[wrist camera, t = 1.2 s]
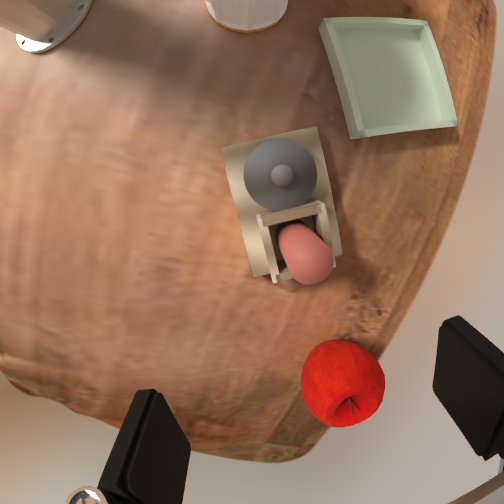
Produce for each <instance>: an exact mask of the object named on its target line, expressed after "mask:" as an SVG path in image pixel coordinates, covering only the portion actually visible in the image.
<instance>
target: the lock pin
mask: <svg viewBox="0 0 504 504" xmlns="http://www.w3.org/2000/svg"><path fill="white" fill-rule="evenodd" d="M275 236H276V241H277V244H278V246H279V248H280V251H281V253H282V255H283V258H284V260H285V262H286V264H287V267H288V269H289V271H290V274H291V275H292V277H293V278H294V279H295V280H296V281H298V282H299V283H302V284H305V285H313V284H317V283H320V282H321V281H323V280H324V279H326V278H327V277H328V275H329V274H330V273H331V271H332V268H333V264H334V257H333V254H332V251H331V250H330V248H329V247H328V246H327V245H326V244H325V243H324V242H323V241H322V240H321V239H320V238H319V237H318V236H317V235H316V234H315V233H314V232H313V231H312V230H311V229H310V228H309V227H308V226H307V225H306V224H305V223H304V222H303V221H301V220H299V219H294V220H290V221H286V222H282V223H281V224H280V225H279V226H278V228H277V230H276V235H275Z"/></svg>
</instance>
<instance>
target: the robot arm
mask: <svg viewBox="0 0 504 504" xmlns="http://www.w3.org/2000/svg"><path fill="white" fill-rule="evenodd" d="M91 4H92V0H0V27H2V28H4V29H6V30H9V31H11V32H13V33H16V40H17V42H18V45H19V46H20V47H21V48H22V49H23V50H25V51H28V52H30V53H40V52H44V51H47V50H49V49H51V48H53V47H55V46H57V45H58V44H60V43H61V42H62V41H64V40H65V39H66V38H67V37H68V36H70V35H71V34H72V33H73V32H74V30H75V29H76V28H77V27H78V26H79V25H80V23H81V22H82V21H83V19H84V18H85V16H86V14H87V13H88V11H89V8H90V6H91ZM433 391H434V393H435V395H436V396H437V397H438V399H439V400H440V402H441V403H442V405H443V406H444V407H445V409H446V410H447V412H448V413H449V415H450V416H451V417H452V419H453V420H454V422H455V423H456V425H457V426H458V427H459V429H460V430H461V432H462V433H463V435H464V436H465V438H466V439H467V441H468V442H469V444H470V445H471V447H472V448H473V450H474V451H475V453H476V454H477V455H478V456H482V457H483V458H484V460H485V461H486V460H488V459H490V458H491V457H493V456H494V455H496V454H497V453H498V454H499V456H500V457H501V460H500V466H499V471H498V475H497V476H495V477H494V478H492V479H491V480H489V481H487V482H486V483H484V484H482V485H481V486H479V487H477V488H476V489H474V490H472V491H470V492H469V493H467V494H465V495H463V496H461V497H459V498H458V499H456V500H454V501H452V502H450V503H448V504H504V353H503V352H502V351H501V350H500V349H499V348H497V347H496V346H495V345H494V344H493V343H492V342H490V341H489V340H488V339H487V338H486V337H485V336H483V335H482V334H481V333H480V332H479V331H478V330H476V329H475V328H474V327H473V326H472V325H470V324H469V323H468V322H467V321H465V320H464V319H463V318H462V317H461V316H455V317H452V318H450V319H447V320H445V321H444V322H443V324H442V326H441V327H440V328H439V335H438V346H437V355H436V364H435V373H434V379H433ZM190 452H191V447H190V443H189V441H188V440H187V438H186V436H185V435H184V433H183V431H182V429H181V428H180V426H179V424H178V422H177V421H176V419H175V417H174V415H173V413H172V412H171V410H170V408H169V406H168V404H167V402H166V400H165V399H164V397H163V395H162V394H161V393H158V392H157V391H156V390H155V389H146V390H138V391H137V392H136V394H135V396H134V399H133V401H132V403H131V406H130V408H129V410H128V412H127V415H126V417H125V419H124V422H123V424H122V427H121V429H120V431H119V434H118V436H117V438H116V441H115V443H114V446H113V448H112V451H111V453H110V456H109V458H108V460H107V463H106V466H105V468H104V471H103V473H102V476H101V478H100V481H99V484H98V487H97V488H94V487H90V486H88V487H87V486H86V487H81V488H78V489H76V490H75V491H73V492H72V493H71V494H70V495H69V496H68V498H67V500H66V504H182V501H183V495H184V488H185V482H186V476H187V470H188V463H189V458H190Z"/></svg>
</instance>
